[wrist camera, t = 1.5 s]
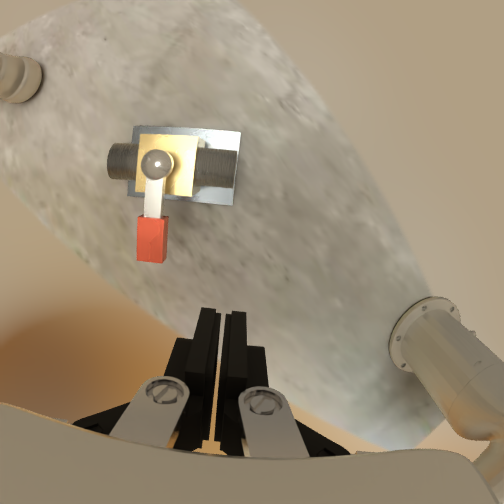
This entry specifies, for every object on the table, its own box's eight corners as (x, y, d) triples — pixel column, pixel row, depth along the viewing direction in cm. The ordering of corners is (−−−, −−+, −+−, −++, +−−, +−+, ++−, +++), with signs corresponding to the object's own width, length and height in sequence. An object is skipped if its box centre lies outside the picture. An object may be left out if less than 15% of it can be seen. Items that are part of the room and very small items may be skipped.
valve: (241, 133, 33) (239, 121, 23) (232, 204, 35) (227, 219, 25) (137, 126, 32) (100, 116, 23) (131, 194, 34) (93, 207, 25)
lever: (147, 149, 24) (141, 148, 22) (175, 150, 24) (171, 150, 22) (141, 255, 26) (135, 260, 25) (167, 258, 26) (163, 263, 25)
